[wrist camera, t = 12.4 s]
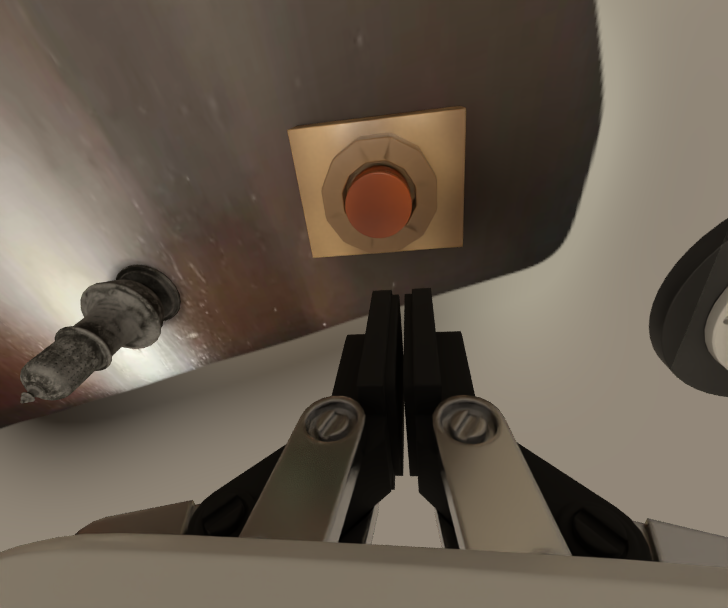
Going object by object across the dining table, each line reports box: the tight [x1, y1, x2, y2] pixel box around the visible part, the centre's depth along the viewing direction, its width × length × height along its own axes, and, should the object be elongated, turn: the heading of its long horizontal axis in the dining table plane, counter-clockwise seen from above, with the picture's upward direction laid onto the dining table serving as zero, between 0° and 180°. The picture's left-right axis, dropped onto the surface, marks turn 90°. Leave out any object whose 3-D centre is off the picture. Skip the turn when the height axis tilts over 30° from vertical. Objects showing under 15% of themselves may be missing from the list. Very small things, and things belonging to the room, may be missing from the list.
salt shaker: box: [20, 265, 180, 403], centre depth 25 cm, size 6×6×12 cm
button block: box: [287, 106, 466, 258], centre depth 22 cm, size 10×8×4 cm
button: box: [345, 166, 412, 238], centre depth 20 cm, size 4×4×2 cm
